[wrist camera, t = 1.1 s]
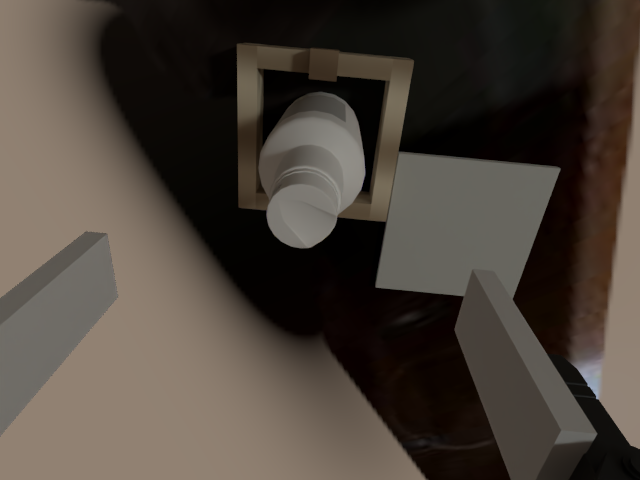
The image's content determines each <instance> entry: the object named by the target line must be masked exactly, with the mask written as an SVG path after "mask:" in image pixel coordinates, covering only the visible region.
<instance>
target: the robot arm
mask: <svg viewBox="0 0 640 480" xmlns="http://www.w3.org/2000/svg"><path fill="white" fill-rule="evenodd" d="M117 298H118V294H117V288H116V282H115V276H114V271H113V265H112V259H111V253H110V247H109V241H108V236H107V234H106V233H95V232H85V233H84V234H82V235H81V236H80V237H78V238H77V239H76V240H74V241H73V242H72V243H71V244H69V245H68V246H67V247H65V248H64V249H63V250H62V251H60V252H59V253H58V254H56V255H55V256H54V257H53V258H51V259H50V260H49V261H47V262H46V263H45V264H44V265H42V266H41V267H40V268H39V269H37V270H36V271H35V272H33V273H32V274H31V275H29V276H28V277H27V278H26V279H24V280H23V281H22V282H21V283H19V284H18V285H17V286H15V287H14V288H13V289H12V290H10V291H9V292H8V293H6V295H4V296H3V297H1V298H0V436H1V435H2V434H3V432H4V431H5V430H6V429H7V427H8V426H9V425H10V424H11V423H12V422H13V421H14V419H15V418H16V416H18V415H19V413H20V412H21V411H22V410H23V409H24V408H25V406H26V405H27V404H28V403H29V402H30V400H31V399H32V398H33V397H34V396H35V395H36V393H37V392H38V391H39V390H40V389H41V387H42V386H43V385H44V384H45V383H46V382H47V380H48V379H49V378H50V377H51V376H52V374H53V373H54V372H55V371H56V370H57V369H58V367H59V366H60V365H61V364H62V363H63V361H64V360H65V359H66V358H67V357H68V356H69V354H70V353H71V352H72V351H73V350H74V348H75V347H76V346H77V345H78V343H80V341H81V340H82V339H83V338H84V337H85V335H86V334H87V333H88V332H89V331H90V329H91V328H92V327H93V326H94V325H95V324H96V322H97V321H98V320H99V319H100V318H101V316H102V315H103V314H104V313H105V312H106V311H107V309H108V308H109V307H110V306H111V305H112V303H113V302H114V301H115V300H116V299H117ZM454 330H455V333H456V335H457V338H458V340H459V343H460V346H461V348H462V351H463V354H464V356H465V359H466V362H467V364H468V367H469V370H470V372H471V375H472V378H473V380H474V383H475V385H476V388H477V391H478V393H479V396H480V399H481V401H482V404H483V407H484V409H485V412H486V415H487V417H488V420H489V423H490V425H491V428H492V430H493V433H494V436H495V438H496V441H497V444H498V446H499V449H500V452H501V454H502V457H503V460H504V462H505V465H506V468H507V470H508V473H509V475H510V478H511V480H640V449H638V448H636V447H633V446H630V444H629V443H628V441H627V440H626V438H625V437H624V436H623V434H622V433H621V431H620V430H619V428H618V427H617V426H616V424H615V423H614V421H613V420H612V418H611V417H610V415H609V414H608V413H607V411H606V410H605V408H604V407H603V406H602V404H601V403H600V401H599V400H598V399H596V395H595V394H594V393H593V391H592V390H591V388H590V387H588V386H587V383H586V381H585V380H584V378H583V377H582V375H581V374H580V372H579V371H578V370H577V369H576V368H575V367H574V366H573V365H572V364H571V363H569V362H568V361H567V360H566V359H565V358H564V357H562V356H561V355H553V354H546V352H545V351H544V349H543V347H542V346H541V344H540V343H539V341H538V340H537V338H536V336H535V335H534V333H533V332H532V330H531V329H530V327H529V325H528V324H527V322H526V321H525V319H524V318H523V316H522V314H521V313H520V311H519V310H518V308H517V307H516V305H515V303H514V302H513V300H512V299H511V297H510V296H509V294H508V292H507V291H506V289H505V288H504V286H503V285H502V283H501V281H500V280H499V278H498V277H497V275H496V274H495V272H494V271H489V270H479V269H472V272H471V275H470V279H469V282H468V286H467V289H466V292H465V296H464V299H463V302H462V306H461V309H460V313H459V316H458V319H457V323H456V326H455V329H454Z"/></svg>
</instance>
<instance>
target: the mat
mask: <svg viewBox="0 0 640 480" xmlns="http://www.w3.org/2000/svg"><path fill="white" fill-rule="evenodd" d="M559 171H560V168H558V167H555V166H545V165H534V164H524V163H513V162H503V161H492V160H482V159H471V158H461V157H450V156H440V155H429V154H419V153H408V152H398V156H397V162H396V168H395V173H394V179H393V185H392V190H391V196H390V202H389V208H388V213H387V219H386V225H385V231H384V236H383V242H382V248H381V254H380V259H379V265H378V271H377V276H376V282H375V287H377V288H387V289H398V290H408V291H418V292H429V293H439V294H449V295H459V296H465V292H466V289H467V286H468V282H469V279H470V275H471V272H472V269H479V270H489V271H494V272H495V274H496V275H497V277H498V278H499V280H500V281H501V283H502V285H503V286H504V288H505V289H506V291H507V292H508V294H509V296H510V297H511V299H513V296H514V293H515V291H516V288H517V285H518V283H519V280H520V277H521V274H522V272H523V269H524V266H525V264H526V261H527V258H528V255H529V253H530V250H531V247H532V245H533V242H534V239H535V236H536V234H537V231H538V228H539V226H540V223H541V220H542V217H543V215H544V212H545V209H546V207H547V204H548V201H549V198H550V196H551V193H552V190H553V188H554V185H555V182H556V179H557V177H558V174H559Z"/></svg>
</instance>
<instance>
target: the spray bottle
mask: <svg viewBox="0 0 640 480" xmlns="http://www.w3.org/2000/svg"><path fill="white" fill-rule="evenodd" d="M258 169H259V174H260V179H261V184H262V187H263V188H264V190H265V192H266V194H267V196H268V198H269V203H268V207H267V214H266V216H267V221H268V225H269V227H270V229H271V231H272V232H273V234H274V235H275V236H276V237H277V238H278V239H279V240H280V241H281V242H283V243H285V244H287V245H290V246H292V247H298V248H310V247H312V246H314V245H315V244H317V243H319V242H321V241H322V240H323V239H324V238H326V237H327V236H328V235H329V234H330V233H331V231H332V230H333V228H334V227H335V224H336V221H337V216H338V214H339V213H341V212H342V211H343V210H345V209H346V208H347V207H348V206H350V205H351V204H352V203H353V201H354V200H355V198H356V197H357V195H358V194H359V192H360V191H361V189H362V185H363V181H364V177H365V161H364V153H363V147H362V141H361V135H360V129H359V123H358V120H357V118H356V116H355V113H354V111H353V110H352V109H351V107H350V106H349V105H348V104H347V103H346V102H345V101H344V100H342V99H341V98H339V97H337V96H336V95H334V94H329V93H325V92H315V93H308V94H306V95H304V96H302V97H300V98H298V99H296V100H295V101H294V102H293V103H292V104H291V105H290V106H289V107H288V108H287V110H286V111H285V113H284V114H283V116H282V117H281V119H280V120H279V122H278V123H277V124H276V126H275V127H274V129H273V130H272V132H271V133H270V135H269V136H268V138H267V140H266V142H265V144H264V146H263V148H262V150H261V152H260V159H259V167H258Z"/></svg>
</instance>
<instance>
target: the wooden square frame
mask: <svg viewBox="0 0 640 480" xmlns="http://www.w3.org/2000/svg"><path fill="white" fill-rule="evenodd" d="M413 64H414V61H413V60H411V59H409V58H401V57H390V56H380V55H369V54H359V53H348V52H339V50H334V49H323V48H311V49H305V48H295V47H284V46H274V45H263V44H252V43H241V44H237V101H238V191H239V193H238V195H239V208H248V209H258V210H267V207H268V203H269V198H268V196H267V194H266V192H265V190H264V188H263V187H262V184H261V179H260V174H259V169H258V167H259V159H260V152H261V150H262V145H263V89H264V69H271V70H282V71H292V72H303V73H309V79H314V80H325V81H335V82H336V80H337V76H345V77H356V78H366V79H377V80H386V83H385V90H384V96H383V103H382V110H381V117H380V123H379V130H378V137H377V144H376V150H375V157H374V164H373V171H372V177H371V184H370V191H369V192H364V191H360V192H359V194H358V195H357V197H356V198H355V200H354V201H353V203H352V204H351V205H350V206H348V207H347V208H346V209H345V210H343V211H342V212H341V213H339V214H338V216H337V217H341V218H352V219H362V220H373V221H383V222H386V219H387V213H388V207H389V202H390V196H391V190H392V184H393V179H394V173H395V167H396V161H397V156H398V150H399V144H400V139H401V133H402V127H403V121H404V116H405V110H406V104H407V98H408V93H409V87H410V81H411V75H412V70H413Z"/></svg>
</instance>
